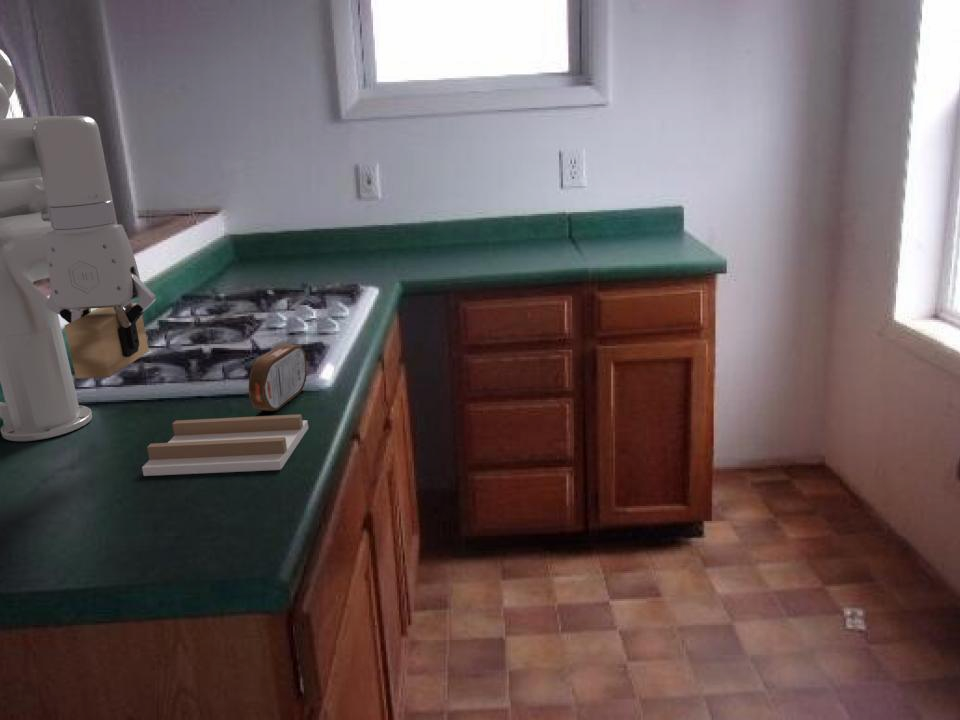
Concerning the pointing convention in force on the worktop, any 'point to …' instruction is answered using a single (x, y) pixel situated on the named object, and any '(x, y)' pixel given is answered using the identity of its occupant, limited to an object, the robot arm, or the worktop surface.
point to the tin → (277, 377)
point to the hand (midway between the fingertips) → (111, 353)
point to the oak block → (101, 344)
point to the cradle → (227, 445)
